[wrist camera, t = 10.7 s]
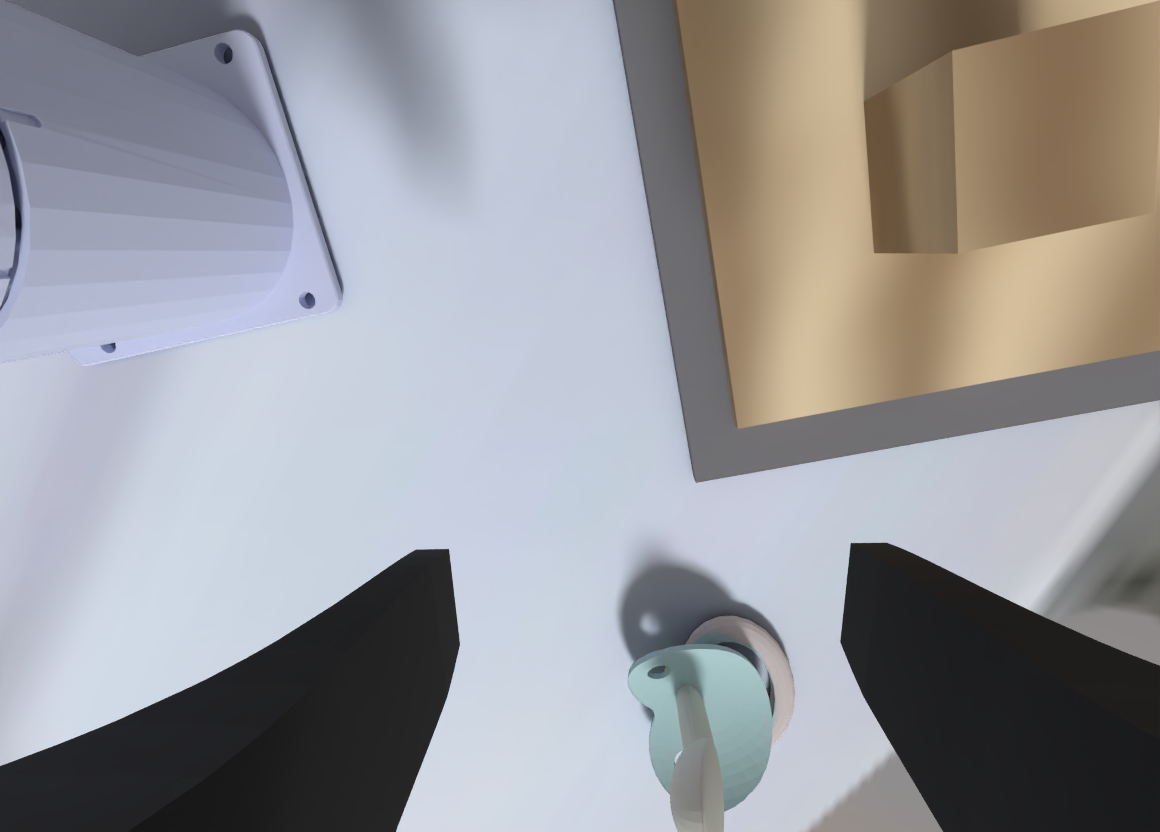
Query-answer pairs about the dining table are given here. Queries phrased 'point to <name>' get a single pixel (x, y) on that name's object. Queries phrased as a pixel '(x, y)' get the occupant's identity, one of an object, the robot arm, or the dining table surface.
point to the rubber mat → (698, 331)
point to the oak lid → (923, 191)
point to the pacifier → (713, 717)
